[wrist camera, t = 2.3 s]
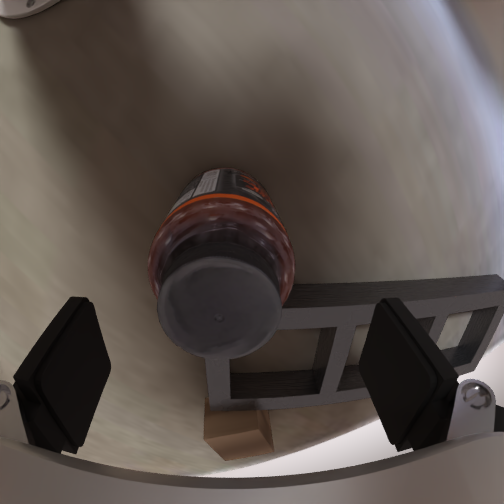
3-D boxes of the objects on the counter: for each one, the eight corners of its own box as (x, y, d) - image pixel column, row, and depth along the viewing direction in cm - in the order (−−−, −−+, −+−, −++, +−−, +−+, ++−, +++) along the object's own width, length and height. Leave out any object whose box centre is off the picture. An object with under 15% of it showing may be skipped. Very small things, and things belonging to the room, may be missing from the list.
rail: (211, 385, 26) (210, 410, 24) (203, 285, 22) (200, 309, 19) (461, 354, 29) (473, 370, 26) (496, 274, 24) (514, 288, 21)
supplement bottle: (288, 216, 20) (348, 322, 10) (220, 269, 21) (216, 401, 11) (230, 145, 18) (230, 182, 8) (159, 206, 19) (92, 307, 9)
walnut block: (205, 397, 27) (203, 439, 23) (254, 386, 27) (258, 429, 22) (224, 422, 29) (225, 460, 25) (268, 412, 29) (274, 451, 24)
